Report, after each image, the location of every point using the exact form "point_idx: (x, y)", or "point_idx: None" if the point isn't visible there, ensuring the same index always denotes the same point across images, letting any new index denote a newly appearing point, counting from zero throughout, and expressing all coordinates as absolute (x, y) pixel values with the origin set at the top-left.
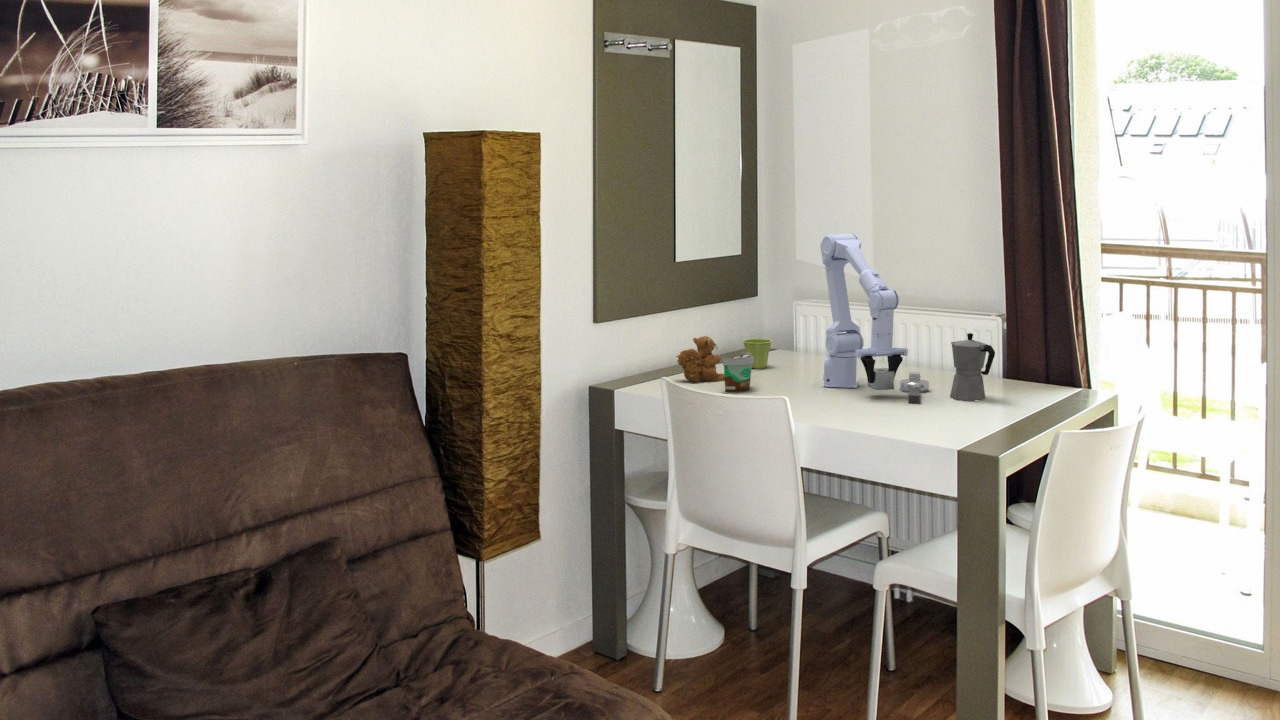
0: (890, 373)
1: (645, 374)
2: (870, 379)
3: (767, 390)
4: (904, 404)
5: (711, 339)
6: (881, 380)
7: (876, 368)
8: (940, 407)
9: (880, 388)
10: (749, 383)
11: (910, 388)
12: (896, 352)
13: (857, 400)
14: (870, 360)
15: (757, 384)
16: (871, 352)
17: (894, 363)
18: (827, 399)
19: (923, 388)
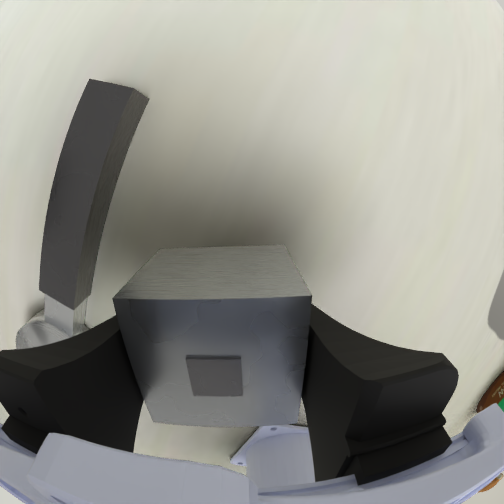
0: (153, 290)
1: None
2: (315, 307)
3: (476, 385)
4: (178, 78)
5: (482, 489)
6: (243, 267)
7: (230, 425)
8: (73, 32)
9: (248, 249)
10: (498, 391)
11: (72, 270)
12: (3, 448)
13: (370, 220)
14: (437, 363)
15: (447, 430)
16: (436, 487)
17: (76, 358)
18: (452, 266)
19: (35, 316)
